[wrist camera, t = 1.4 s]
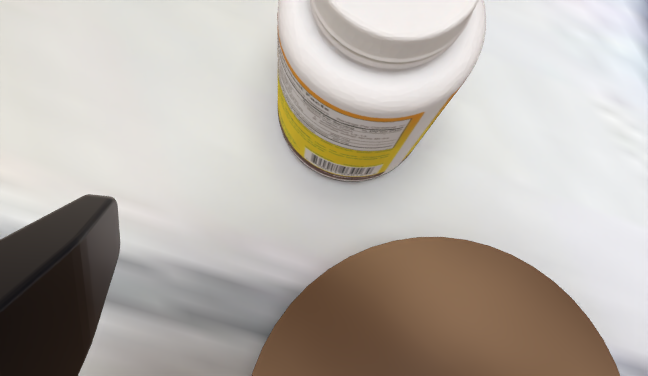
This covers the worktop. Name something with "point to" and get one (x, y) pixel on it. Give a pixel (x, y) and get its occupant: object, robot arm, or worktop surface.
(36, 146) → the worktop surface
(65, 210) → the robot arm
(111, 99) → the worktop surface
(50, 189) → the worktop surface
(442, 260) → the walnut platform
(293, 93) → the supplement bottle
